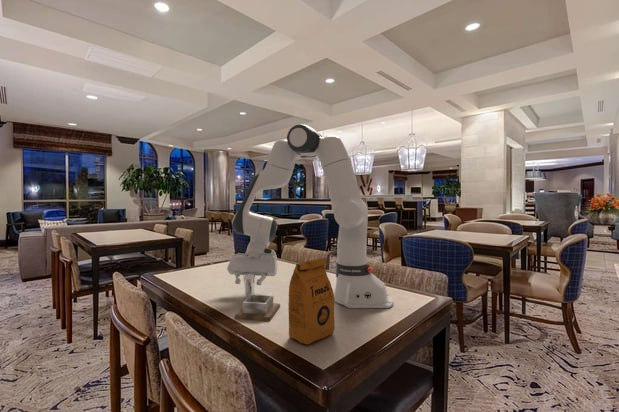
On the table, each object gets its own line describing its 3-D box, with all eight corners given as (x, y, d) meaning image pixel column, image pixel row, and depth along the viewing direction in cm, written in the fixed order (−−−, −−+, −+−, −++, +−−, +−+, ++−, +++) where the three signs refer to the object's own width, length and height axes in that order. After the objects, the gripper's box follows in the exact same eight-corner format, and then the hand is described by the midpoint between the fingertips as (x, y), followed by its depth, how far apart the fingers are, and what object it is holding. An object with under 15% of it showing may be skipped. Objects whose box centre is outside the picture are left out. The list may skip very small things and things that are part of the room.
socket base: (280, 307, 109) (280, 294, 109) (270, 320, 97) (269, 306, 97) (248, 304, 111) (248, 292, 111) (234, 318, 99) (234, 304, 99)
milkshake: (245, 294, 122) (245, 270, 122) (257, 295, 121) (257, 271, 120) (239, 298, 118) (239, 272, 117) (252, 299, 116) (251, 274, 116)
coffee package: (340, 336, 87) (340, 260, 86) (305, 350, 79) (305, 266, 78) (317, 324, 94) (317, 254, 93) (284, 336, 87) (283, 260, 86)
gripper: (230, 249, 127) (220, 278, 118) (277, 250, 124) (270, 281, 114) (235, 257, 132) (225, 286, 123) (280, 259, 128) (274, 289, 119)
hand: (247, 284), depth 118 cm, fingers open, 7 cm apart
